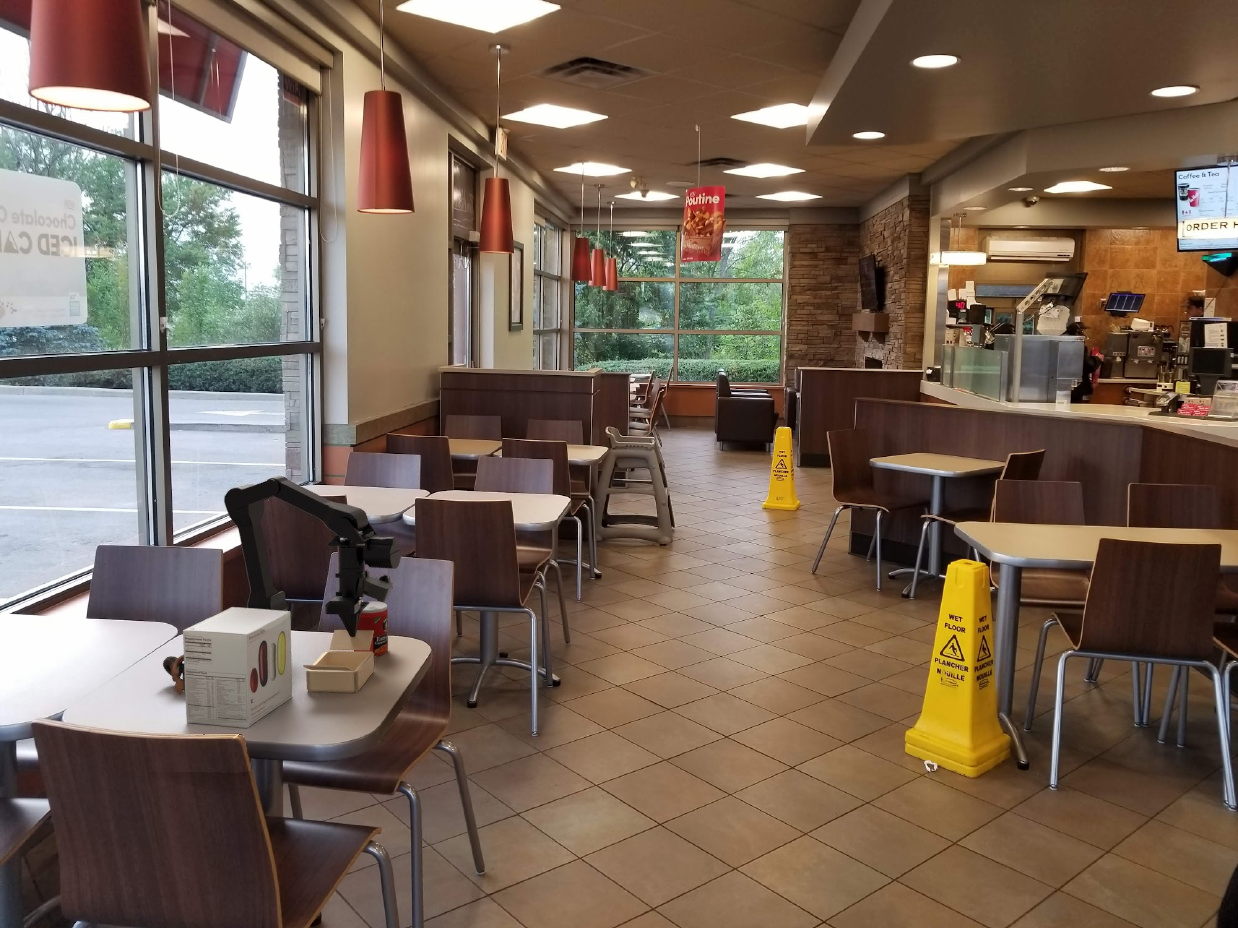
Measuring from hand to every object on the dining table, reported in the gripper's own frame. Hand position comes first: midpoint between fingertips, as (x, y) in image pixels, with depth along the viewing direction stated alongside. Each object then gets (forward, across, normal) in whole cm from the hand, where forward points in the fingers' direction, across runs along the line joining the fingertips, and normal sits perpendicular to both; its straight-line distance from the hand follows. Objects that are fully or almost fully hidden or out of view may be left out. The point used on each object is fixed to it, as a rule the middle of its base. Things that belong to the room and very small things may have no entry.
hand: (352, 636), depth 216 cm
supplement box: (+8, -25, +14) cm, 30 cm away
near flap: (+1, -17, 0) cm, 18 cm away
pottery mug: (+8, -13, +30) cm, 34 cm away
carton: (+7, -9, 0) cm, 11 cm away
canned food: (+7, +11, -1) cm, 13 cm away
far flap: (0, -1, 0) cm, 1 cm away
